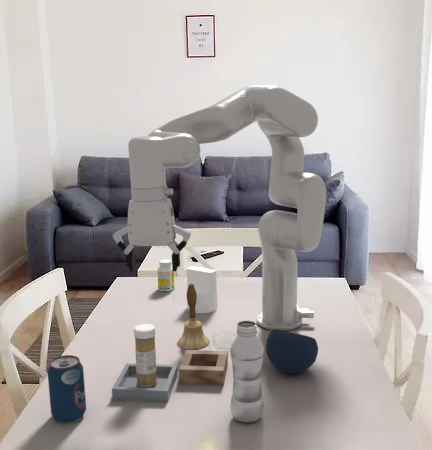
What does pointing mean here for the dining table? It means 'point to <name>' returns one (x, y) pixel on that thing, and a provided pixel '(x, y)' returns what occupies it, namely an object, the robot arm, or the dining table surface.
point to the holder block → (203, 367)
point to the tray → (131, 391)
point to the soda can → (66, 389)
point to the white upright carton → (203, 288)
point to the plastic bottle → (247, 373)
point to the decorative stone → (291, 351)
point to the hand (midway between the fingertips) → (153, 269)
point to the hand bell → (192, 325)
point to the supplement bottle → (165, 275)
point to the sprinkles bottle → (145, 355)
